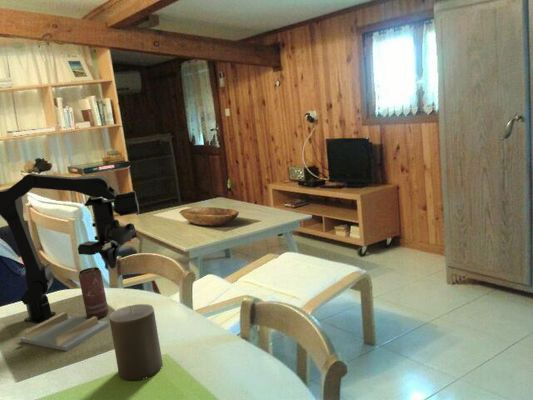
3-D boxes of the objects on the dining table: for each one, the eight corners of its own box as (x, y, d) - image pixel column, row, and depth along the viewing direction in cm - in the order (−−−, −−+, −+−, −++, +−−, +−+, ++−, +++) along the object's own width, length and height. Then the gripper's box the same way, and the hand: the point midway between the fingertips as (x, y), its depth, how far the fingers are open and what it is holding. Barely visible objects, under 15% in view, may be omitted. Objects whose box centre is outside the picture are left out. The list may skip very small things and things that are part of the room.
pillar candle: (140, 384, 105) (129, 318, 103) (109, 375, 111) (98, 312, 108) (172, 362, 113) (162, 300, 111) (141, 355, 119) (131, 295, 116)
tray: (21, 341, 134) (18, 331, 134) (64, 318, 147) (62, 309, 146) (66, 350, 126) (64, 339, 125) (109, 325, 138) (107, 315, 137)
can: (112, 309, 149) (103, 265, 146) (103, 319, 143) (94, 273, 140) (93, 311, 150) (84, 267, 147) (83, 320, 143) (74, 274, 141)
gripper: (100, 227, 137) (109, 281, 140) (146, 210, 153) (153, 259, 156) (72, 226, 142) (82, 278, 145) (119, 210, 158) (127, 257, 161)
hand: (113, 268), depth 152 cm, fingers closed
